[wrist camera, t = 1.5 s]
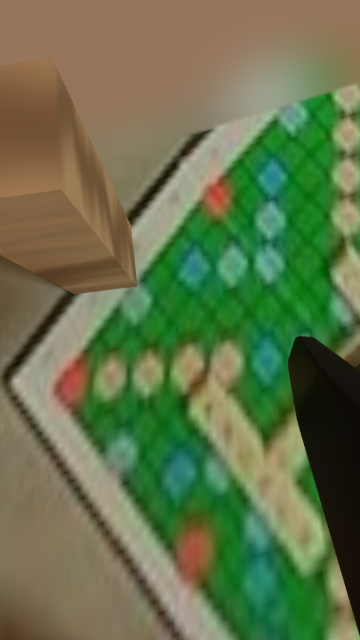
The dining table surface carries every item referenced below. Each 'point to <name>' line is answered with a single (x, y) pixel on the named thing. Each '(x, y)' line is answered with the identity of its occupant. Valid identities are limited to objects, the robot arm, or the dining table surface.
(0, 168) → the wood block
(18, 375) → the dining table surface
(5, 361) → the dining table surface
